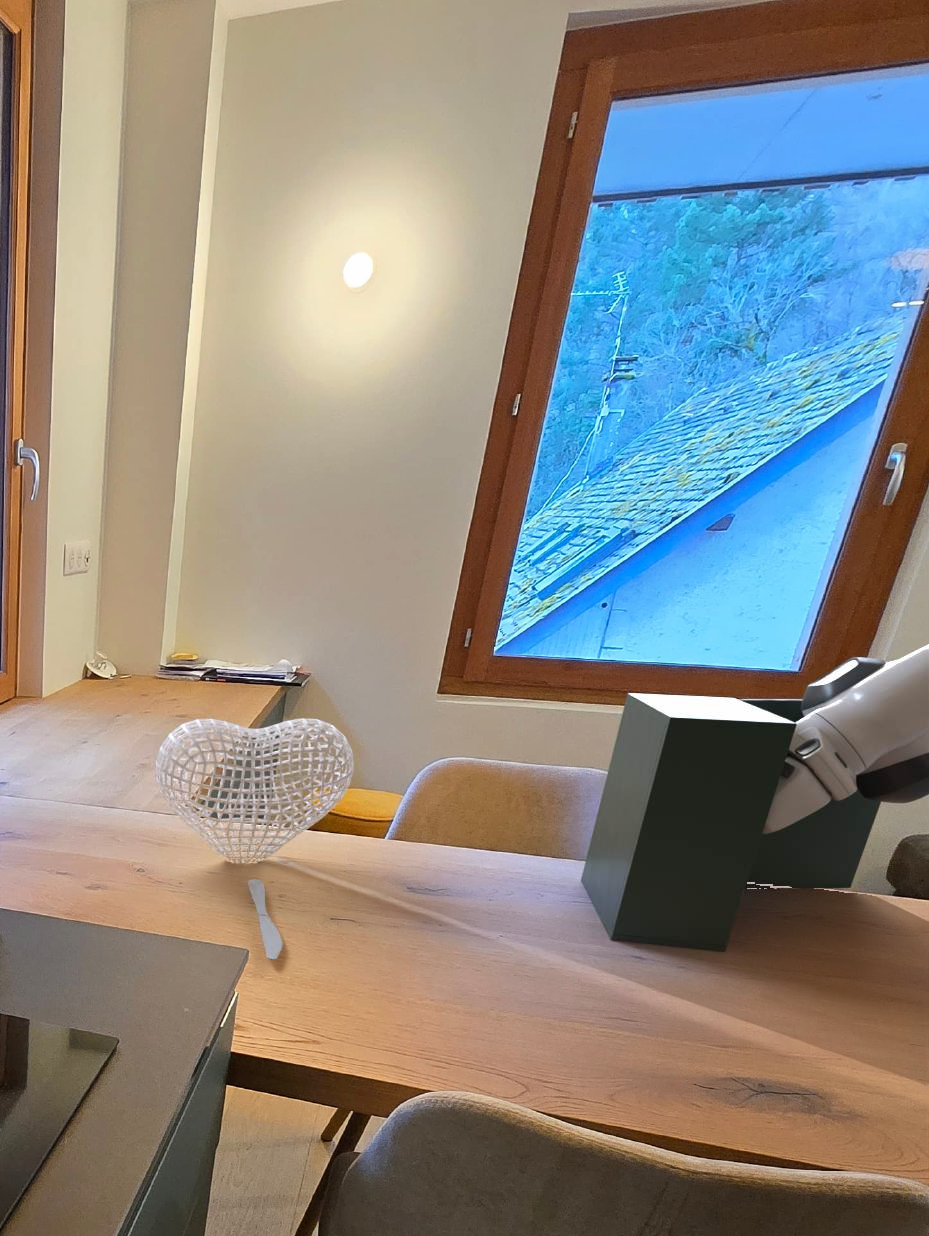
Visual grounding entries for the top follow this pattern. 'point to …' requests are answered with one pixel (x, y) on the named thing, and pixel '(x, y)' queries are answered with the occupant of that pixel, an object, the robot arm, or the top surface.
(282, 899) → the top surface
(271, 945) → the butter knife
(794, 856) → the cupboard door
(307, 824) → the heart
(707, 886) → the cupboard
